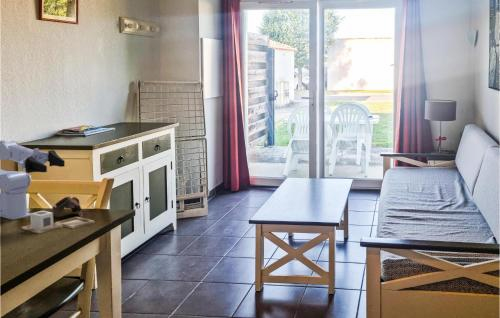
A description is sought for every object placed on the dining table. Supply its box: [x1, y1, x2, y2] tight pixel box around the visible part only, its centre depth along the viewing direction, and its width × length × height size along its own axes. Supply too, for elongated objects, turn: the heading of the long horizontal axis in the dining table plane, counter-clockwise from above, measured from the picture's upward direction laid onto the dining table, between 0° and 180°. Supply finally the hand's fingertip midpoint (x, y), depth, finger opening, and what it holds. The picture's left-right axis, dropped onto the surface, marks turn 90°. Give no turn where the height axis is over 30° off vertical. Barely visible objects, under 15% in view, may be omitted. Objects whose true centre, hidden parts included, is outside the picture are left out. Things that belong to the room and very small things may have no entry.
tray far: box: [54, 216, 95, 230], centre depth 211 cm, size 9×9×1 cm
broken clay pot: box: [51, 196, 84, 218], centre depth 221 cm, size 12×10×8 cm
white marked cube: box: [29, 210, 54, 231], centre depth 204 cm, size 5×5×5 cm
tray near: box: [21, 222, 63, 234], centre depth 205 cm, size 9×9×1 cm
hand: (55, 166), depth 208 cm, fingers open, 7 cm apart
